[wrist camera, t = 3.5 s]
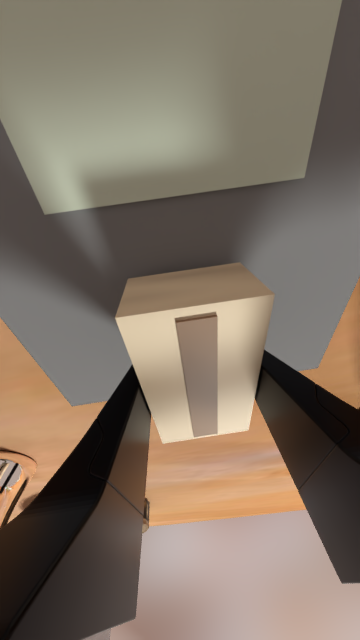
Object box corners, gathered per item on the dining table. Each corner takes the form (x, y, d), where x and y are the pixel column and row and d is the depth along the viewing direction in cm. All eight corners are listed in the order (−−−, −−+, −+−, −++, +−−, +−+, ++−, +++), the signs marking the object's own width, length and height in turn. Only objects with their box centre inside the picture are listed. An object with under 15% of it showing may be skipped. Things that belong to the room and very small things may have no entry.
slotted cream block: (231, 384, 12) (248, 432, 10) (161, 395, 12) (163, 445, 10) (239, 262, 8) (276, 295, 5) (128, 278, 8) (114, 320, 5)
